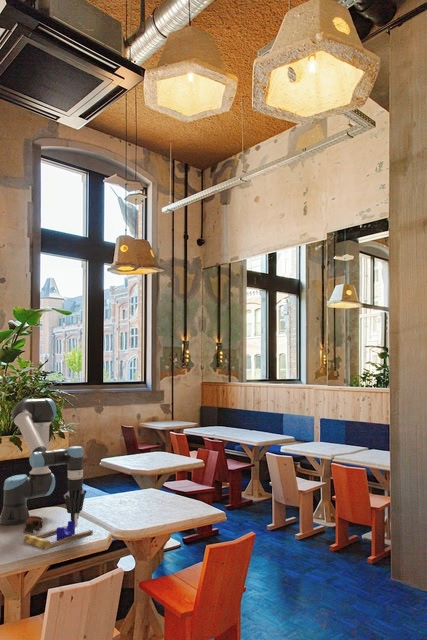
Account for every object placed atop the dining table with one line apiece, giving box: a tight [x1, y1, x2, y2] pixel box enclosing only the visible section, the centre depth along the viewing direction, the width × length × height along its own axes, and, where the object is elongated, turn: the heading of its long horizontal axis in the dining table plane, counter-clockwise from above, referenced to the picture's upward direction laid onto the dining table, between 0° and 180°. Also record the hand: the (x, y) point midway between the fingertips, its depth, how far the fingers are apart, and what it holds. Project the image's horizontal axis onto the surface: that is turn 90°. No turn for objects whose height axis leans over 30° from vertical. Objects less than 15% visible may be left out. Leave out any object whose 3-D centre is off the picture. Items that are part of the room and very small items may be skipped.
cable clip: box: [56, 520, 76, 541], centre depth 247 cm, size 12×4×6 cm, turn 166°
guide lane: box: [23, 525, 94, 550], centre depth 246 cm, size 17×27×3 cm, turn 144°
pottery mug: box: [22, 515, 43, 534], centre depth 258 cm, size 12×10×8 cm
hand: (74, 526), depth 253 cm, fingers closed
